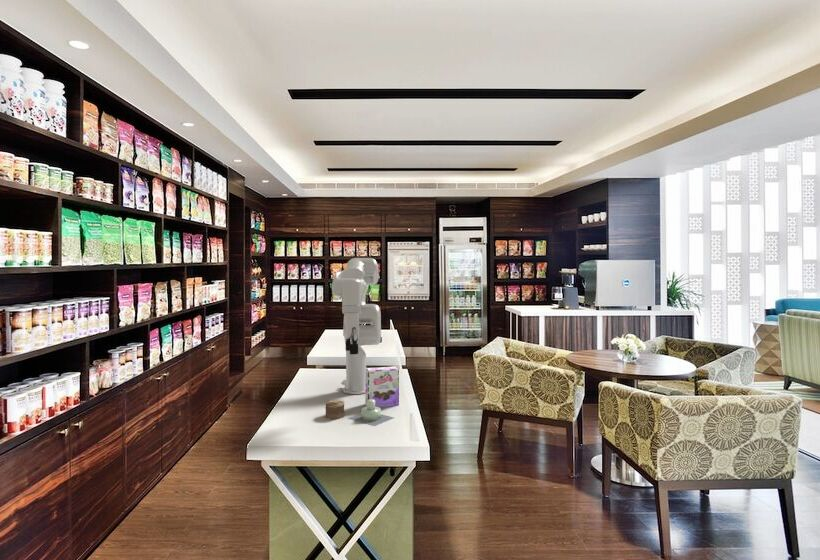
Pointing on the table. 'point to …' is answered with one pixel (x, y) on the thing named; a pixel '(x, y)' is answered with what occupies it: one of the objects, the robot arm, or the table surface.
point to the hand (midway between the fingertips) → (351, 352)
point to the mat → (373, 423)
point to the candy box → (382, 386)
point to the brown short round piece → (334, 409)
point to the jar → (371, 411)
